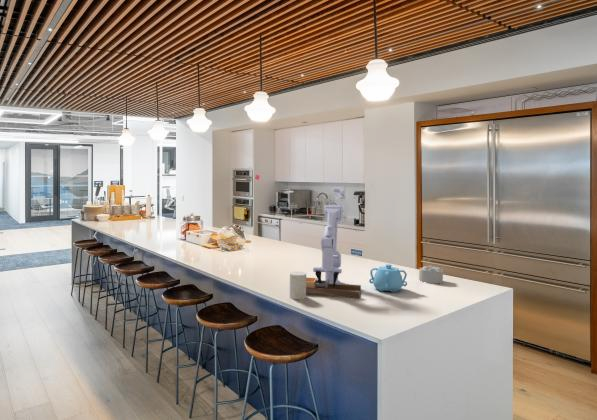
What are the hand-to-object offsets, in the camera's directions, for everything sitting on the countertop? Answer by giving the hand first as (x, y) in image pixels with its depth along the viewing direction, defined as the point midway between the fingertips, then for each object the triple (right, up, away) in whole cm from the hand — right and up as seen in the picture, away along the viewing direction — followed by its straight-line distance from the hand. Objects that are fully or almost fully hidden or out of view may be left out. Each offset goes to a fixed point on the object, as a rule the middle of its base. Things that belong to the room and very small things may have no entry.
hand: (327, 286), depth 219 cm
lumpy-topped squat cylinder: (+62, -2, +27) cm, 68 cm away
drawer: (-7, -2, +2) cm, 8 cm away
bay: (0, -3, 0) cm, 3 cm away
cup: (-15, -4, -9) cm, 18 cm away
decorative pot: (+33, -4, +8) cm, 34 cm away
